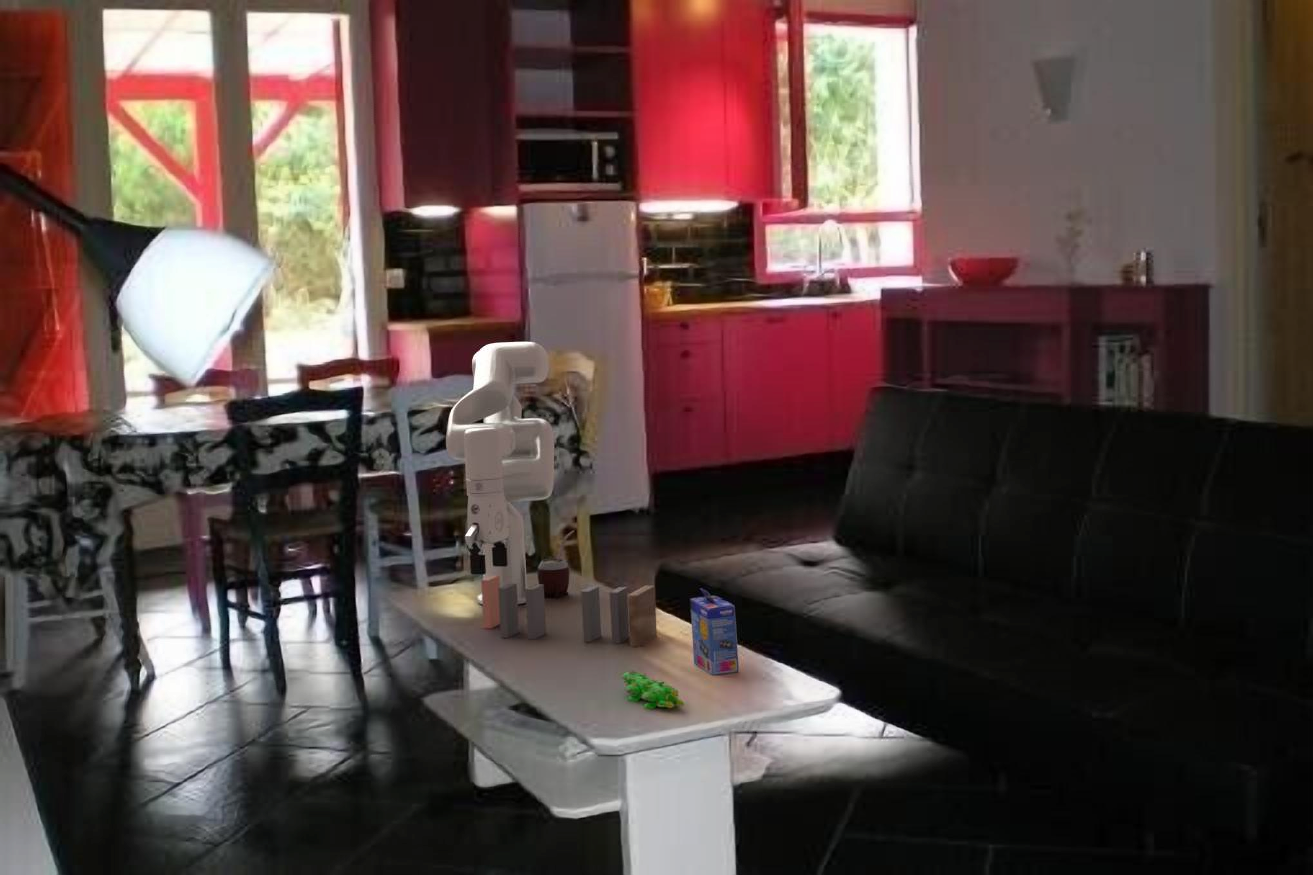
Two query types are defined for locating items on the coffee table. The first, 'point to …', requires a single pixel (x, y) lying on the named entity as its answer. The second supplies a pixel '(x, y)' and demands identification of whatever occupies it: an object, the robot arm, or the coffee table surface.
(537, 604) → the domino
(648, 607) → the end post
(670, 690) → the green bumpy elongated piece
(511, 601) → the domino
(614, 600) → the domino
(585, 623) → the domino
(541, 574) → the mate gourd
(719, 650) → the ink cartridge box
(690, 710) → the coffee table surface
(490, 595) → the domino
